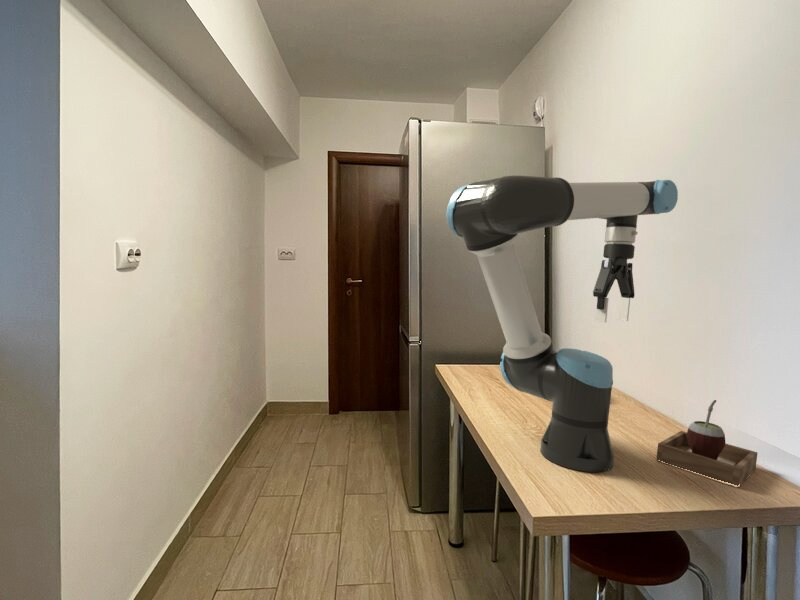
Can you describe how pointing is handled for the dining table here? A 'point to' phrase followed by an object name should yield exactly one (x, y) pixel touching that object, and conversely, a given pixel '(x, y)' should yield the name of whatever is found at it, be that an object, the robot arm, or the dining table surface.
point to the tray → (708, 460)
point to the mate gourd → (706, 437)
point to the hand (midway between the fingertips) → (611, 321)
